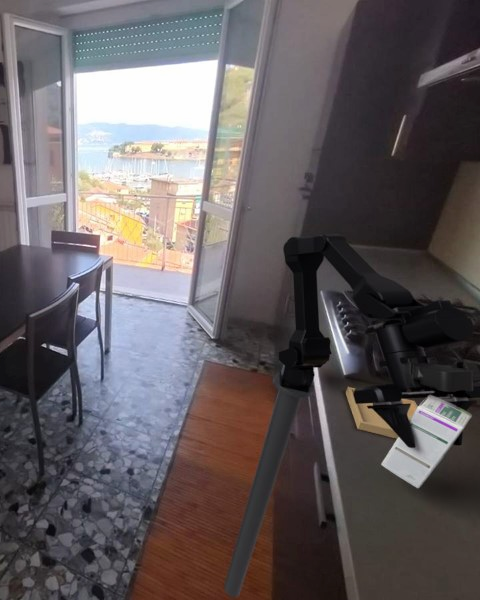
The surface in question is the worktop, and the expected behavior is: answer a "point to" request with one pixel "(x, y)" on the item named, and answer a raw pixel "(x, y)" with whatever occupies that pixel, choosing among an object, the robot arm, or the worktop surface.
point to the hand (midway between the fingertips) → (434, 446)
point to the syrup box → (426, 440)
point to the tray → (373, 416)
